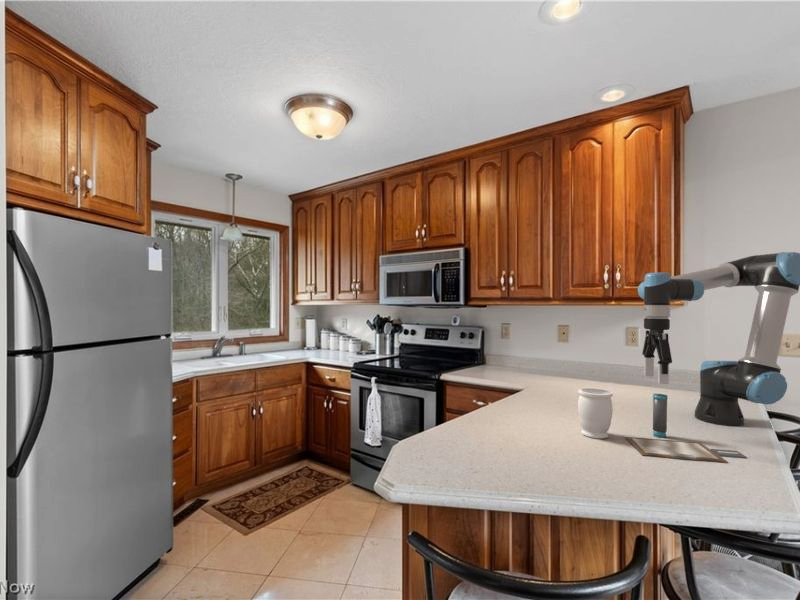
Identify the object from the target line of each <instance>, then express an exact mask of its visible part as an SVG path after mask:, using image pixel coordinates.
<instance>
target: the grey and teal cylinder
mask: <svg viewBox="0 0 800 600" xmlns="http://www.w3.org/2000/svg"><path fill="white" fill-rule="evenodd" d="M652 401H653V402H652V430H653V434H652V435H653V437H656V438H658V439H665V438H667V430H668V429H667V428H668V424H667V423H668V395H667V394H664V393H653V394H652Z"/></svg>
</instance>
